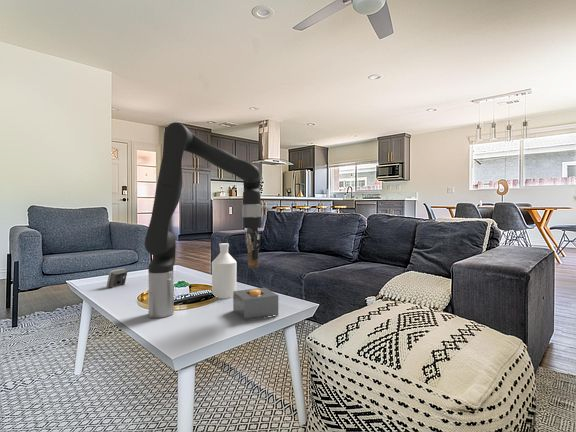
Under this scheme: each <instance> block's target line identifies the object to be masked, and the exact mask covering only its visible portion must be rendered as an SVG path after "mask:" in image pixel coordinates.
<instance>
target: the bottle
mask: <svg viewBox="0 0 576 432" xmlns="http://www.w3.org/2000/svg"><path fill="white" fill-rule="evenodd" d="M218 246H219V253H218V255H217V256H216V257H215V258H214V259H213V261H211V285H212V286H211V288H212V290H211V291H212V292H211V294H213V295H214V296H217V297H218V298H217V299H230V298H231V299H232V298H233V291H237V267H238V265H237V261H236V259H235V258H234V257H233V256H232V255H231V254H230V253H229V247H230V244H229V243H227V242H226V243H225V242H224V243H219V245H218Z"/></svg>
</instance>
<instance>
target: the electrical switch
mask: <svg viewBox="0 0 576 432" xmlns="http://www.w3.org/2000/svg"><path fill="white" fill-rule="evenodd" d="M127 276H128V271H126V270H125V268H117V269H113V270H110V271H109V272H108V277H107V282H106V288H111V289H114V288H117V287H123V286H125V284H126V281H127Z"/></svg>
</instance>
